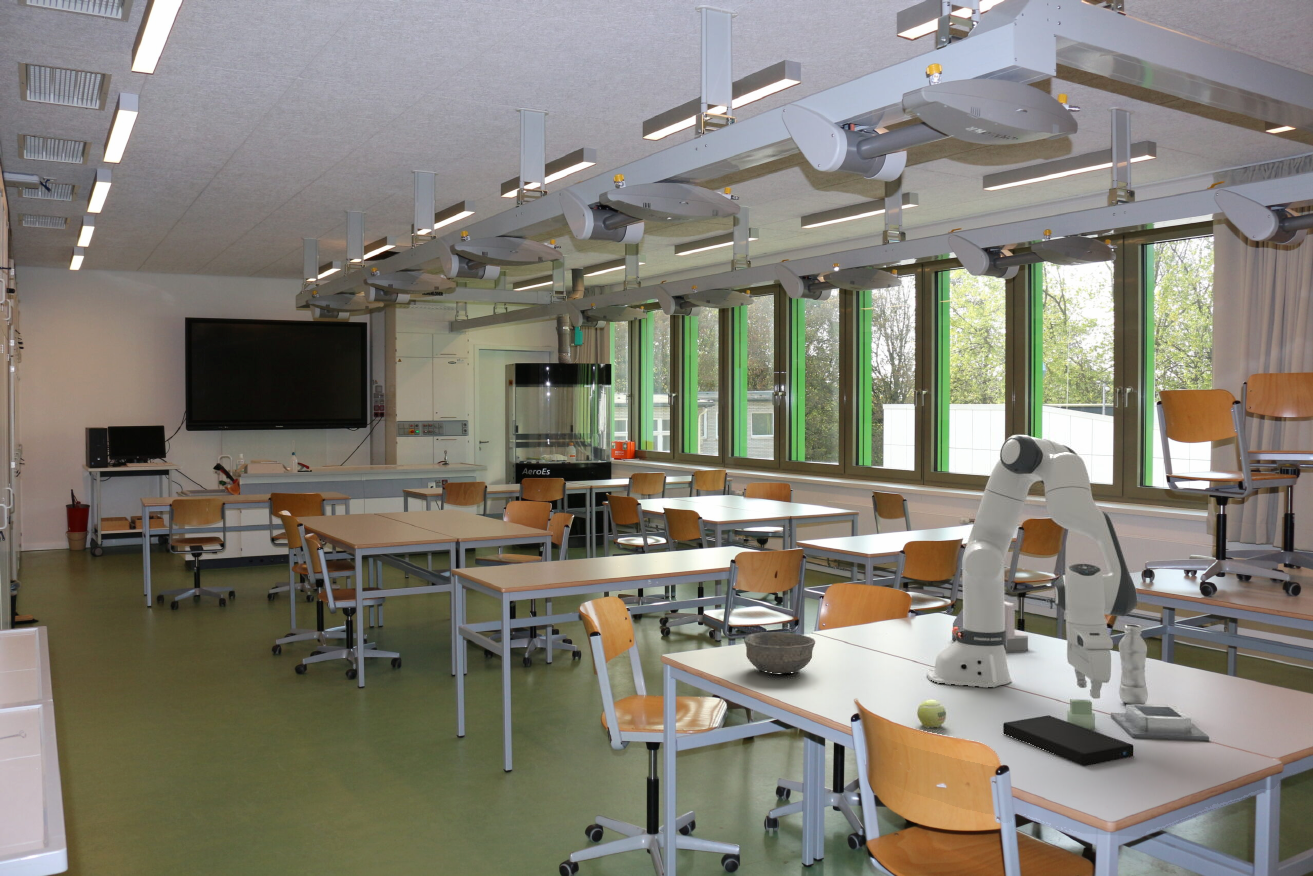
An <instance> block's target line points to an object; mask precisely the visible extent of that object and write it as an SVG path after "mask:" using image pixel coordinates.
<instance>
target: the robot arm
mask: <svg viewBox="0 0 1313 876" xmlns="http://www.w3.org/2000/svg"><path fill="white" fill-rule="evenodd" d="M1039 481H1040V482H1041V484H1043V486H1044V498H1045V504H1046V505H1045V506H1046V510H1047V514H1048V516H1049V518H1050V519H1051V520H1052V521H1053V522H1054V523H1056V525H1058V526H1060V527H1062V528H1064V529H1066V530H1069V531H1070V532H1075V533H1077V534H1080V535H1081V534H1082V535H1083V536H1086V537H1088V538H1090V539H1092V540H1093V541H1094V542H1096V544H1098V546H1099V548H1100V551H1101V553H1102V557H1103V560H1104V564H1105V567H1106V570H1107V573H1106V574H1103V571H1102V569H1101V568H1100V567H1099V566H1096V565H1093V564H1088V563H1076V564H1072V565H1070V566H1068V567H1067V569H1066V574H1063V575H1060V577H1058V578H1057V579H1056V580H1055V581H1054V583H1053V585H1054V588H1053V589H1054V605H1055V606H1056V607H1057V608H1058V609H1059V610H1061V611H1062V612H1063V613H1067V614H1066V617H1065V631H1066V632H1065V634H1066V637H1065V638H1066V641H1067V644H1066V645H1067V646H1066V647H1067V648H1066V652H1067V653H1066V656H1067V657H1066V658H1067V659H1066V660H1067V663H1068V664H1069V665H1070V666H1072V667H1073V668H1074V674H1075V678H1076V686H1077V687H1078V688H1080V689H1086V688H1087V686H1088V684H1087V680H1086V679H1087V678H1088V679H1089V680H1090V689H1089V696H1090V697H1091V698H1092V699H1094V700H1095V699H1097V700H1098V699H1100V698H1101V690H1102V686H1103V684H1105V683H1106V684H1107V683H1109V682H1110V680H1111V676H1112V653H1111V649H1113V647H1114V643H1113V642H1114V641H1113V639H1112V637H1111V636H1110V634H1109V630H1108V624H1107V618H1106V615H1109V616H1116V617H1126V616H1127V615H1129V614H1130V613H1131V612H1133V610H1135V609H1136V607H1137V605H1138V591H1137V588H1136V586H1135V584H1134V583H1135V582H1134V581H1133V580H1134V579H1132V576H1131V573H1130V571H1129V570H1128V569H1129V568H1128V566H1127V563H1126V560H1125V557H1124V554H1123V551H1122V548H1121V545H1120V541H1119V539H1118V535H1117V533H1116V529H1115V527H1114V525H1113V522H1112V520H1111V518H1110V516H1109V514H1108V513H1107V512H1105V511H1102V510H1101V509H1100V508H1099V507H1098V506H1097V504H1096V503H1095V501H1094V498H1093V494H1092V487H1091V482H1090V477H1089V473H1088V470H1087V467H1086V463H1085V461H1084V460H1083V458H1082V457H1081V456H1080V455H1078V454H1077V452H1075V451H1074V450H1073V449H1072V448H1071V447H1069V446H1067V445H1064V444H1060V443H1057V442H1055V441H1052V440H1049V439H1045V438H1038V437H1034V436H1033V437H1032V436H1030V435H1026V434H1012V435H1011V436H1009V437H1008V438H1007V439H1006V440H1005V441H1004V442H1003V444H1002V445H1001V448H1000V453H999V459H998V461H997V462H996V464H995V466H994V468H993V469H992V472H991V474H990V476H989V478H988V481H987V483H986V485H985V489H984V492H983V494H982V498H981V500H980V503H979V506H978V510H977V513H976V516H975V519H974V522H973V524H972V528H971V530H970V534H969V537H968V539H967V542H966V546H965V549H964V552H963V556H962V560H961V562H962V563H961V569H962V570H961V572H962V575H961V576H962V609H963V627H962V628H960V629H958V627H954V629H953V628H952V629H951V633H952V632H953V633H954V634H955V635H956V641H955V642H953V643H951V644H949V645H948V646H947V647H945V648H944V649H942V650H941V651H939V653H938V654H937V656H936V659H935V662H934V663H935V664H934V667H932V668H929V669H928V670H927V672H926V677H927V676H928V677H927V678H928V679H929V681H931V680H932V681H931V682H933V681H934V682H933V683H935V682H937V683H936V684H939V683H945V684H944V685H951V684H955V685H954V686H963V685H968V686H967V687H975V686H979V688H988V687H993V688H996V687H998V686H1003V685H1007V684H1009V683H1011V682H1012V678H1011V675H1010V672H1009V666H1008V662H1007V653H1006V647H1007V634H1006V630H1005V573H1006V572H1005V569H1006V568H1005V565H1006V564H1005V561H1006V557H1007V555H1008V551H1009V548H1010V547H1011V543H1012V541H1013V538H1014V535H1015V533H1016V531H1017V527H1018V525H1019V521H1020V519H1021V516H1022V512H1023V510H1024V507H1025V504H1026V500H1027V497H1028V494H1029V490H1030V488H1031V486H1032V485H1033V484H1034V483H1036V482H1039Z"/></svg>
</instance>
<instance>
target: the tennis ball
mask: <svg viewBox="0 0 1313 876" xmlns="http://www.w3.org/2000/svg"><path fill="white" fill-rule="evenodd" d="M916 715H917V719H918V720H919V722H920V723H921V724H922V726H924V727H925V726H926V727H937V728H939V727H942V725H943V724H944V723H945V722H946V718H947V711H946V708H945V706H944V705H943V704H941V702H940V701H938V700H935V699H933V698H932V699H927V700H924V701H922V702H921V703H920V704H919V706H918V709H917V714H916ZM926 727H925V728H926Z"/></svg>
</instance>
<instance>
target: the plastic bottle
mask: <svg viewBox="0 0 1313 876" xmlns="http://www.w3.org/2000/svg"><path fill="white" fill-rule="evenodd" d="M1123 631H1124V633H1125V634H1124V636H1123V637H1122V638H1121V639H1120V640H1119V643H1118V651H1119V656H1120V657H1119V658H1120V666H1121V668H1120V669H1121V675H1120V684H1119V690H1118V694H1119V699H1120V700H1121V702H1123V703H1124V704H1126V705H1132V704H1146V703H1147V702H1148V698H1149V693H1148V688H1147V683H1146V660H1147V653H1148V647H1147V643H1146V642H1145V640H1144V639H1143V638H1142V636H1141V634H1142V626H1141V625H1137V624H1132V623H1131V624H1129V623H1128V624H1125V625H1124V630H1123Z"/></svg>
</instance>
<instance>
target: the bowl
mask: <svg viewBox="0 0 1313 876" xmlns="http://www.w3.org/2000/svg"><path fill="white" fill-rule="evenodd" d="M743 640H744V645H745V648H746V658H747V660H748V661H749V662H750V663H751V664H752V665H753V667H755V668H756V669H758V670H759V671H761V670H762V672H764V671H767V672H772V673H791V672H794V673H796V671H797V672H799V671H801V670H802V669H804V668H806V666H807V665H808V664H809V663H810V662H811V660H812V658H813V650H814V647H815V644H816V640H815V639H814V638H812V637H810V636H807V635H804V634H803V635H802V634H797V633H788V632H774V631H771V632H767V631H766V632H763V631H762V632H755V633H751V634H748V635H746V636H745V637H744V638H743ZM767 672H766V673H767ZM791 674H792V673H791Z"/></svg>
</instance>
